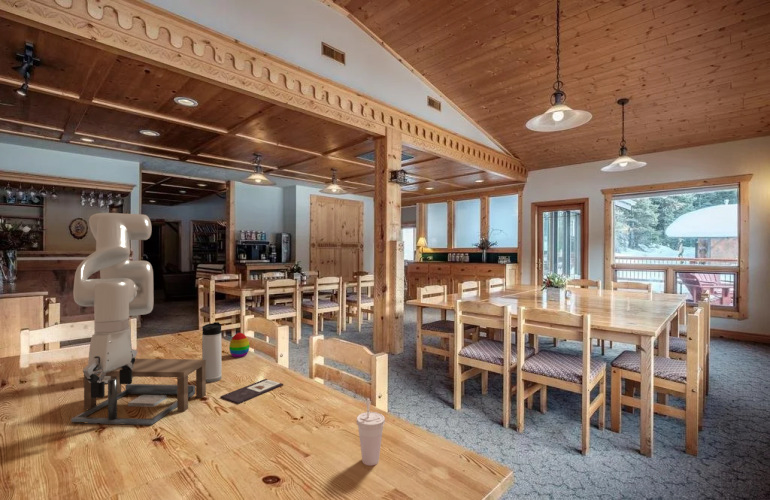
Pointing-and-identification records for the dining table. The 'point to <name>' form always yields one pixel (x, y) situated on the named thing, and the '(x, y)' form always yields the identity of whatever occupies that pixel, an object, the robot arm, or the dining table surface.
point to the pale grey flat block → (147, 400)
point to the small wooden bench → (161, 369)
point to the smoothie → (370, 435)
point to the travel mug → (212, 351)
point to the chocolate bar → (251, 391)
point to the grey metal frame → (129, 390)
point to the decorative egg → (239, 345)
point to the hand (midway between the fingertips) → (112, 390)
